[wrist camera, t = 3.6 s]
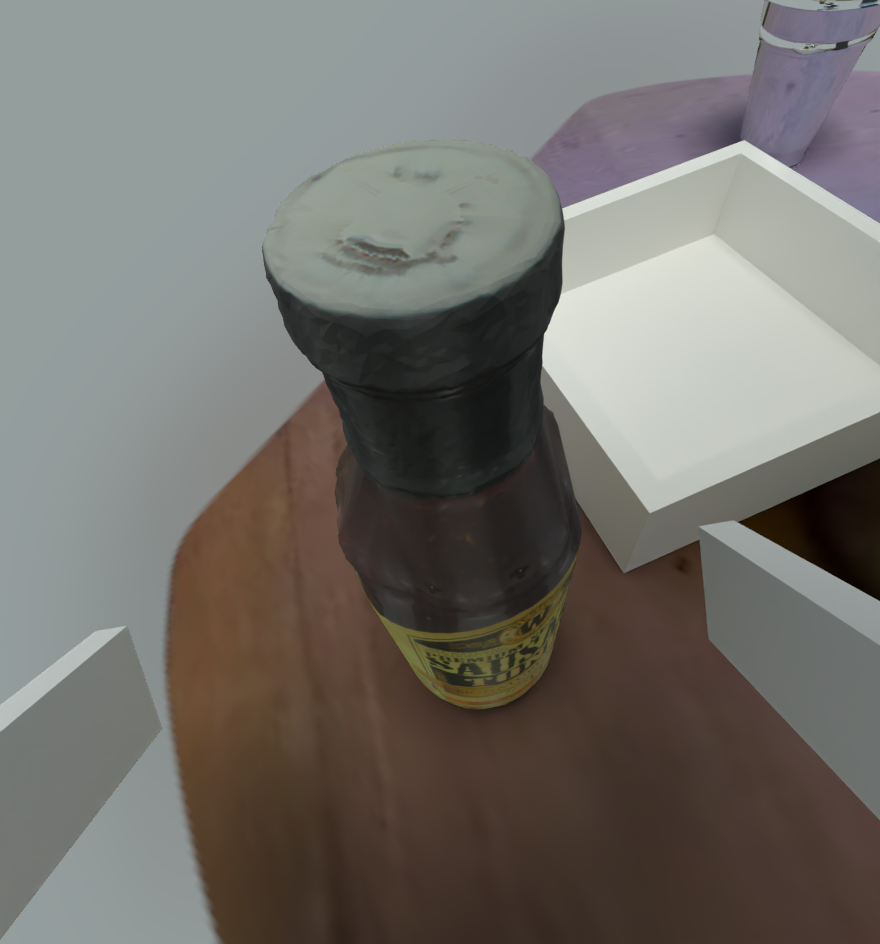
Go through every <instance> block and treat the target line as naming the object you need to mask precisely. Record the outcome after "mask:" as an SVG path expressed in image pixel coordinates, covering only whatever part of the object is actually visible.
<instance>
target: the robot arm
mask: <svg viewBox="0 0 880 944" xmlns="http://www.w3.org/2000/svg"><path fill="white" fill-rule="evenodd" d="M698 528H699V539H700V550H701V562H702V573H703V584H704V595H705V606H706V617H707V628H708V639H709V640H710V641H711V642H712V643H713V644H714V645H715V646H716V648H717V649H718V650H719V651H720V652H721V653H722V654H723V655H724V656H725V657H726V658H727V659H728V660H729V661H730V662H731V663H732V664H733V666H734V667H735V668H736V669H737V670H738V671H739V672H740V673H741V674H742V675H743V676H744V677H745V678H746V679H747V680H748V681H749V682H750V683H751V685H752V686H753V687H754V688H755V689H756V690H757V691H758V692H759V693H760V694H761V695H762V696H763V697H764V698H765V699H766V700H767V701H768V703H769V704H770V705H771V706H772V707H773V708H774V709H775V710H776V711H777V712H778V713H779V714H780V715H781V716H782V717H783V718H784V719H785V721H786V722H787V723H788V724H789V725H790V726H791V727H792V728H793V729H794V730H795V731H796V732H797V733H798V734H799V735H800V736H801V737H802V738H803V740H804V741H805V742H806V743H807V744H808V745H809V746H810V747H811V748H812V749H813V750H814V751H815V752H816V753H817V754H818V755H819V756H820V758H821V759H822V760H823V761H824V762H825V763H826V764H827V765H828V766H829V767H830V768H831V769H832V770H833V771H834V772H835V773H836V774H837V775H838V777H839V778H840V779H841V780H842V781H843V782H844V783H845V784H846V785H847V786H848V787H849V788H850V789H851V790H852V791H853V792H854V793H855V795H856V796H857V797H858V798H859V799H860V800H861V801H862V802H863V803H864V804H865V805H866V806H867V807H868V808H869V809H870V810H871V811H872V812H873V814H874V815H875V816H876V817H877V818H878V819H879V820H880V601H878V600H877V599H875V598H873V597H871V596H869V595H867V594H866V593H864V592H862V591H860V590H858V589H857V588H855V587H853V586H851V585H849V584H848V583H846V582H844V581H842V580H840V579H839V578H837V577H835V576H833V575H831V574H830V573H828V572H826V571H824V570H822V569H821V568H819V567H817V566H815V565H813V564H812V563H810V562H808V561H806V560H804V559H803V558H801V557H799V556H797V555H795V554H793V553H792V552H790V551H788V550H786V549H784V548H783V547H781V546H779V545H777V544H775V543H774V542H772V541H770V540H768V539H766V538H765V537H763V536H761V535H759V534H757V533H756V532H754V531H752V530H750V529H748V528H747V527H745V526H743V525H741V524H739V523H738V522H736V521H734V520H732V521H727V522H721V523H715V524H709V525H704V526H698ZM161 729H162V726H161V723H160V720H159V718H158V715H157V711H156V709H155V706H154V703H153V700H152V697H151V694H150V691H149V688H148V685H147V682H146V679H145V677H144V673H143V671H142V668H141V665H140V662H139V659H138V656H137V653H136V650H135V647H134V644H133V641H132V638H131V635H130V632H129V630H128V627H127V626H123V627H117V628H111V629H105V630H100V631H95V632H94V633H93V634H92V635H90V636H89V637H88V638H86V639H85V640H84V641H82V642H81V643H80V644H79V645H77V646H76V647H75V648H73V649H72V650H71V651H70V652H68V653H67V654H66V655H64V656H63V657H62V658H60V659H59V660H58V661H57V662H55V663H54V664H53V665H51V666H50V667H49V668H48V669H46V670H45V671H44V672H43V673H41V674H40V675H39V676H37V677H36V678H35V679H34V680H32V681H31V682H30V683H28V684H27V685H26V686H24V687H23V688H22V689H21V690H19V691H18V692H17V693H15V694H14V695H13V696H12V697H10V698H9V699H8V700H6V701H5V702H4V703H2V704H1V705H0V939H1V938H2V937H3V935H4V934H5V933H6V931H7V930H8V929H9V927H10V926H11V925H12V923H13V922H14V921H15V920H16V918H17V917H18V916H19V914H20V913H21V912H22V910H23V909H24V908H25V906H26V905H27V904H28V903H29V901H30V900H31V899H32V897H33V896H34V895H35V894H36V892H37V891H38V890H39V888H40V887H41V886H42V884H43V883H44V882H45V880H46V879H47V878H48V877H49V875H50V874H51V873H52V871H53V870H54V869H55V868H56V866H57V865H58V864H59V862H60V861H61V860H62V858H63V857H64V856H65V854H66V853H67V852H68V851H69V849H70V848H71V847H72V845H73V844H74V843H75V841H76V840H77V839H78V838H79V836H80V835H81V834H82V832H83V831H84V830H85V828H86V827H87V826H88V825H89V823H90V822H91V821H92V819H93V818H94V817H95V815H96V814H97V813H98V811H99V810H100V809H101V808H102V806H103V805H104V804H105V802H106V801H107V800H108V798H109V797H110V796H111V795H112V793H113V792H114V791H115V789H116V788H117V787H118V785H119V784H120V783H121V782H122V780H123V779H124V778H125V776H126V775H127V774H128V772H129V771H130V770H131V768H132V767H133V766H134V765H135V763H136V762H137V761H138V759H139V758H140V757H141V755H142V754H143V753H144V752H145V750H146V749H147V748H148V746H149V745H150V744H151V742H152V741H153V740H154V739H155V737H156V736H157V735H158V733H159V732H160V731H161Z"/></svg>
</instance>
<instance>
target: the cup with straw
mask: <svg viewBox="0 0 880 944" xmlns="http://www.w3.org/2000/svg"><path fill="white" fill-rule="evenodd" d="M760 21H761V25H760V31H759V41H760V42H759V46H758V51H757V56H756V61H755V65H754V70H753V75H752V79H751V84H750V89H749V94H748V99H747V103H746V108H745V113H744V118H743V122H742V127H741V132H740V139H741V140H740V142H741V141H743V140H745V141H747V142H748V143H750V144H752V145H753V146H755V147H756V148H758V149H760V150H761V151H763V152H765V153H766V154H768V155H769V156H771V157H773V158H774V159H776V160H777V161H779V162H781V163H782V164H784V165H786V166H787V167H791V166H794V165H796V164H798V163H799V162H800V161H801V160H802V159H803V157H804V155H805V150H806V148H807V147H808V146H809V145H810V144H811V143H812V141H813V140H814V138H815V136H816V134H817V133H818V131H819V129H820V127H821V125H822V124H823V122H824V120H825V118H826V116H827V115H828V113H829V111H830V109H831V108H832V106H833V104H834V102H835V100H836V99H837V97H838V95H839V93H840V91H841V90H842V88H843V86H844V84H845V82H846V81H847V79H848V77H849V75H850V74H851V72H852V70H853V68H854V66H855V64H856V63H857V61H858V59H859V57H860V56H861V54H862V52H863V50H864V48H865V47H866V45H867V44H868V43H869V42H870V41H871V40H872V39H873V37H874V35H875V34H876V32H877V30H878V28H879V27H880V0H764V4H763V8H762V12H761V18H760Z"/></svg>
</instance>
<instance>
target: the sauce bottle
mask: <svg viewBox="0 0 880 944" xmlns="http://www.w3.org/2000/svg"><path fill="white" fill-rule="evenodd" d="M564 232H565V224H564V216H563V211H562V207H561V203H560V200H559V196H558V193H557V191H556V189H555V187H554V185H553V183H552V181H551V179H550V178H549V176H548V175H547V174H546V173H545V172H544V171H542V170H541V169H540V168H539V167H537V166H536V165H535V164H534V163H533V162H532V161H531V160H530V159H528V158H526V157H522V156H519V155H518V154H516V153H514V152H513V151H510V150H507V149H503V148H500V147H497V146H495V145H492V144H485V143H478V142H471V141H438V140H430V141H413V142H405V143H399V144H395V145H391V146H387V147H382V148H378V149H374V150H371V151H367V152H364V153H361V154H357V155H355V156H352V157H350V158H347V159H345V160H343V161H341V162H339V163H337V164H335V165H334V166H331V167H330V168H328V169H327V170H325V171H323V172H320V173H318V174H315V175H313V176H311V177H310V178H308V179H307V180H306V181H304V182H303V183H302V184H300V185H299V186H298V187H297V188H296V189H294V190H293V191H292V192H291V193H290V194H289V195H288V196H287V197H286V198H285V199H284V200H283V201H282V202H281V204H280V205H279V207H278V209H277V210H276V213H275V217H274V220H273V221H272V223H271V224H270V226H269V227H268V229H267V232H266V235H265V238H264V242H263V246H262V252H263V258H264V266H265V271H266V278H267V279H268V281H269V283H270V284H271V287H272V290H273V292H274V294H275V296H276V298H277V300H278V307H279V310H280V312H281V314H282V317H283V321H284V326H285V328H286V330H287V331H288V333H289V335H290V337H291V339H292V340H293V342H294V343H295V345H296V346H297V347H298V348H299V350H300V351H301V352H302V353H303V354H304V355H305V356H307V358H308V359H309V361H310V362H311V363H312V365H314V366H315V367H316V368H317V369H318V370H320V371H322V373H323V375H324V378H325V381H326V384H327V386H328V388H329V390H330V392H331V394H332V397H333V400H334V402H335V403H336V405H337V407H338V408H339V412H340V417H341V419H342V420H343V432H344V435H345V438H346V441H347V444H348V445H347V447H346V449H345V450H344V451H343V453H342V454H341V457H340V459H339V461H338V467H337V469H336V476H337V482H336V488H335V496H336V504H337V508H338V518H337V525H338V532H339V534H338V538H339V544H340V546H341V548H342V550H343V552H344V554H345V557H346V559H347V560H348V561H349V562H350V563H351V564H352V566H353V567H354V569H355V570H356V572H357V575H358V578H359V581H360V585H361V587H362V589H363V591H364V593H365V595H366V597H367V598H368V600H369V602H370V603H371V605H372V606H373V608H374V610H375V611H376V613H377V614H378V616H379V617H380V619H381V621H382V622H383V624H384V625H385V627H386V628H387V630H388V631H389V633H390V634H391V636H392V637H393V639H394V641H395V642H396V644H397V645H398V647H399V649H400V650H401V652H402V653H403V655H404V656H405V658H406V659H407V661H408V662H409V664H410V666H411V667H412V669H413V671H414V672H415V674H416V675H417V677H418V678H419V679H420V680H421V682H422V683H423V684H424V685H425V686H426V687H427V688H428V689H429V690H430V691H431V692H433V693H434V694H435V695H437V696H438V697H440V698H442V699H443V700H445V701H448V702H450V703H452V704H454V705H457V706H460V707H463V708H465V709H471V710H475V709H488V708H491V707H496V706H500V705H507V704H508V703H509V702H510V701H513V700H515V699H516V698H519V697H521V696H522V695H523V694H524V693H525V692H527V691H528V690H529V689H530V688H531V687H532V686H533V685H534V684H535V683H536V682H537V681H538V680H539V678H540V677H541V675H542V674H543V672H544V670H545V669H546V667H547V665H548V663H549V660H550V657H551V654H552V650H553V646H554V642H555V639H556V635H557V631H558V626H559V624H560V620H561V616H562V613H563V610H564V603H565V599H566V595H567V591H568V588H569V584H570V580H571V576H572V572H573V569H574V566H575V562H576V557H577V553H578V549H579V545H580V539H581V533H582V532H581V521H580V515H579V511H578V507H577V503H576V498H575V494H574V490H573V486H572V482H571V477H570V473H569V469H568V465H567V461H566V457H565V452H564V448H563V444H562V440H561V436H560V431H559V427H558V424H557V422H556V419H555V417H554V413H553V412H552V411H550V410H549V409H548V408H547V407H546V406H545V405H544V397H543V393H542V388H541V384H540V382H541V370H542V364H543V360H542V353H543V342H544V333H545V332H546V330H547V329H548V325H549V324H550V321H551V318H552V315H553V313H554V310H555V308H556V306H557V305H558V302H559V299H560V295H561V291H562V283H563V279H562V256H563V242H564Z"/></svg>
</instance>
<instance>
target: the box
mask: <svg viewBox="0 0 880 944" xmlns="http://www.w3.org/2000/svg"><path fill="white" fill-rule="evenodd" d="M562 211H563V216H564V224H565V232H564V242H563V256H562V279H563V283H562V291H561V295H560V299H559V302H558V305H557V306H556V308H555V310H554V313H553V315H552V318H551V321H550V324H549V325H548V329H547V330H546V332H545V333H544V342H543V353H542V360H543V364H542V370H541V382H540V384H541V388H542V393H543V397H544V405H545V406H546V407H547V408H548V409H549V410H550V411H552V412H553V413H554V417H555V419H556V422H557V424H558V427H559V431H560V436H561V440H562V444H563V448H564V452H565V457H566V461H567V465H568V469H569V473H570V477H571V482H572V486H573V490H574V494H575V498H576V500H577V502H578V503H579V505H580V506H581V508H582V509H583V511H584V513H585V514H586V516H587V517H588V519H589V520H590V522H591V524H592V525H593V527H594V528H595V530H596V531H597V533H598V534H599V536H600V538H601V539H602V541H603V542H604V544H605V545H606V547H607V548H608V550H609V552H610V553H611V555H612V556H613V558H614V559H615V561H616V562H617V564H618V566H619V567H620V569H621V570H622V572H623V573H626V572H628V571H630V570H632V569H635V568H637V567H639V566H641V565H644V564H646V563H648V562H650V561H653V560H655V559H657V558H659V557H661V556H664V555H666V554H668V553H670V552H673V551H675V550H677V549H679V548H681V547H684V546H686V545H688V544H690V543H693V542H695V541H697V540H699V528H698V526H704V525H709V524H715V523H721V522H727V521H732V520H734V521H736V522H739V521H742V520H744V519H746V518H748V517H750V516H753V515H755V514H757V513H759V512H762V511H764V510H766V509H768V508H770V507H773V506H775V505H777V504H779V503H782V502H784V501H786V500H788V499H790V498H793V497H795V496H797V495H799V494H802V493H804V492H806V491H808V490H811V489H813V488H815V487H817V486H819V485H822V484H824V483H826V482H828V481H831V480H833V479H835V478H837V477H839V476H842V475H844V474H846V473H848V472H851V471H853V470H855V469H857V468H859V467H862V466H864V465H866V464H868V463H871V462H873V461H875V460H877V459H879V458H880V224H879V223H878V222H876V221H875V220H873V219H871V218H870V217H868V216H867V215H865V214H863V213H862V212H860V211H858V210H857V209H855V208H854V207H852V206H850V205H849V204H847V203H845V202H844V201H842V200H841V199H839V198H837V197H836V196H834V195H833V194H831V193H829V192H828V191H826V190H824V189H823V188H821V187H820V186H818V185H816V184H815V183H813V182H811V181H810V180H808V179H807V178H805V177H803V176H802V175H800V174H799V173H797V172H795V171H794V170H792V169H790V168H789V167H787V166H786V165H784V164H782V163H781V162H779V161H777V160H776V159H774V158H773V157H771V156H769V155H768V154H766V153H765V152H763V151H761V150H760V149H758V148H756V147H755V146H753V145H752V144H750V143H748V142H747V141H745V140H743V141H741V142H738V143H735V144H733V145H730V146H727V147H725V148H722V149H719V150H717V151H714V152H711V153H709V154H706V155H703V156H701V157H698V158H695V159H693V160H690V161H688V162H685V163H682V164H680V165H677V166H674V167H672V168H669V169H666V170H664V171H661V172H658V173H656V174H653V175H650V176H648V177H645V178H642V179H640V180H637V181H634V182H632V183H629V184H626V185H624V186H621V187H619V188H616V189H613V190H611V191H608V192H605V193H603V194H600V195H597V196H595V197H592V198H589V199H587V200H584V201H581V202H579V203H576V204H573V205H571V206H568V207H565V208H563V209H562Z"/></svg>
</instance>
